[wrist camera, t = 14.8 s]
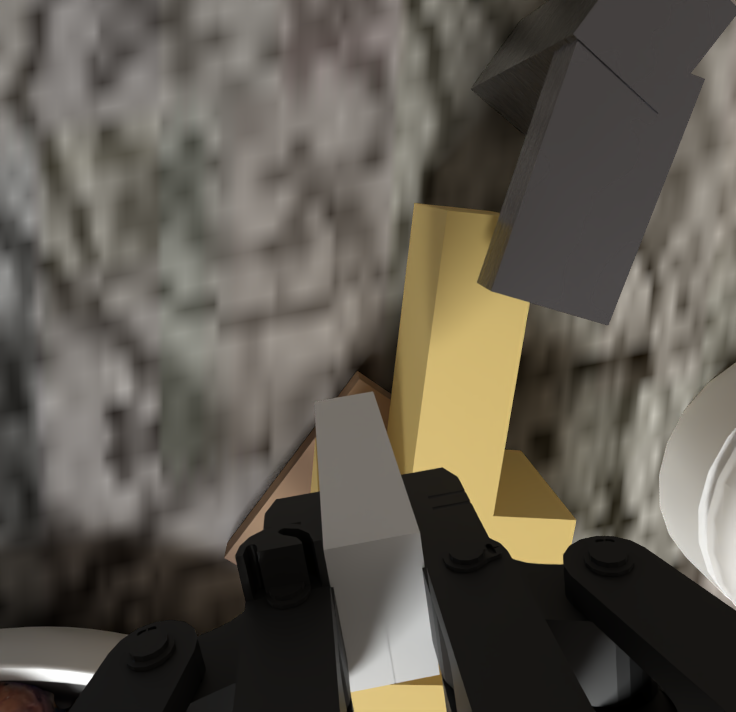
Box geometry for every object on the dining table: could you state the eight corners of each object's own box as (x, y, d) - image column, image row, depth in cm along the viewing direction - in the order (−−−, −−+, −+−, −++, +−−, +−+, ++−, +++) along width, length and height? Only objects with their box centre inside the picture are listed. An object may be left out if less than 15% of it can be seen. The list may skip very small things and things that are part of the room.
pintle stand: (357, 370, 28) (379, 451, 20) (529, 488, 30) (613, 604, 22) (227, 543, 29) (197, 685, 21) (400, 642, 32) (433, 805, 24)
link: (489, 626, 31) (532, 730, 25) (299, 621, 30) (297, 728, 24) (562, 218, 26) (636, 230, 20) (337, 194, 25) (347, 199, 19)
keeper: (519, 21, 25) (655, -77, 15) (623, 116, 26) (809, 81, 17) (378, 216, 26) (421, 238, 17) (484, 296, 28) (580, 359, 18)
